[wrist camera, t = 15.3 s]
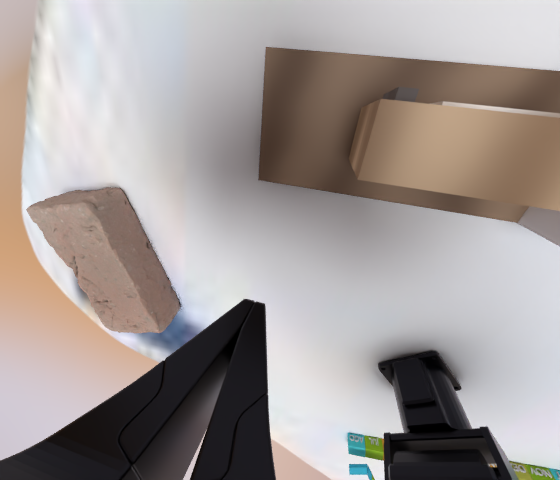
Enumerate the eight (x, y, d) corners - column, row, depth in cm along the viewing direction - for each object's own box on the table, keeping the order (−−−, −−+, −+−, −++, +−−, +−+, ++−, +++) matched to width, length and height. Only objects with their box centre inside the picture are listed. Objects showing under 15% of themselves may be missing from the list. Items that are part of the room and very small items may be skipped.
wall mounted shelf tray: (598, 120, 11) (822, 120, 6) (548, 187, 13) (688, 231, 8) (364, 95, 13) (386, 78, 8) (348, 159, 15) (357, 179, 9)
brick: (65, 192, 23) (9, 207, 19) (125, 184, 21) (77, 199, 17) (136, 305, 31) (107, 333, 27) (186, 307, 29) (162, 338, 25)
